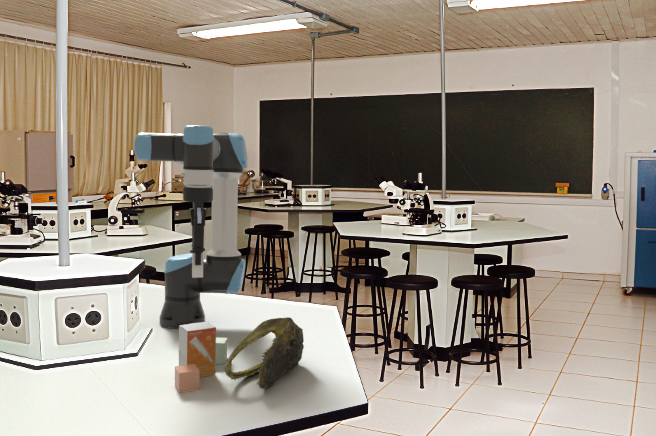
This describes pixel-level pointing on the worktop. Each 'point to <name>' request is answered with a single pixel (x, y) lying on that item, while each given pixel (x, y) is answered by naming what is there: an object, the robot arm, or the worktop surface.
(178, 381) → the terracotta cube
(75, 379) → the worktop surface
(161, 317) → the robot arm
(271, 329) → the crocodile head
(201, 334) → the small box
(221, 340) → the sage block
